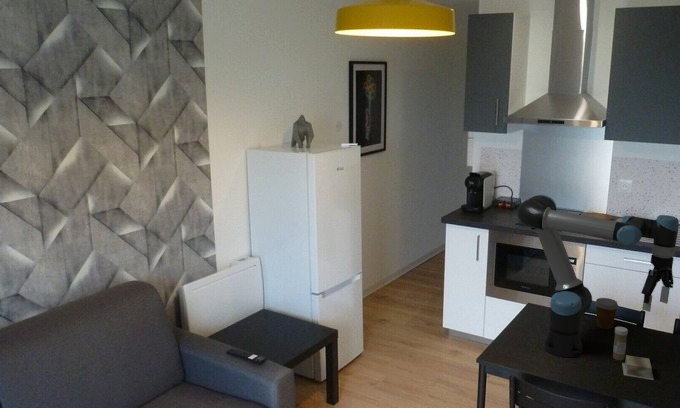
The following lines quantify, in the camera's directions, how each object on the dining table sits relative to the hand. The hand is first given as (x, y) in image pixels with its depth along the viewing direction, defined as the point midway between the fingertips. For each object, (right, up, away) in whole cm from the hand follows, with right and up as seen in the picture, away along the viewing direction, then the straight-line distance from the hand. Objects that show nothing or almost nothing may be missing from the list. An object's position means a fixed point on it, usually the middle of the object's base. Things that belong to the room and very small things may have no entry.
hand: (654, 306), depth 225 cm
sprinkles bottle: (-13, -22, +3) cm, 26 cm away
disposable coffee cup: (-5, -15, +33) cm, 37 cm away
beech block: (-11, -23, -8) cm, 27 cm away
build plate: (-11, -24, -8) cm, 28 cm away
